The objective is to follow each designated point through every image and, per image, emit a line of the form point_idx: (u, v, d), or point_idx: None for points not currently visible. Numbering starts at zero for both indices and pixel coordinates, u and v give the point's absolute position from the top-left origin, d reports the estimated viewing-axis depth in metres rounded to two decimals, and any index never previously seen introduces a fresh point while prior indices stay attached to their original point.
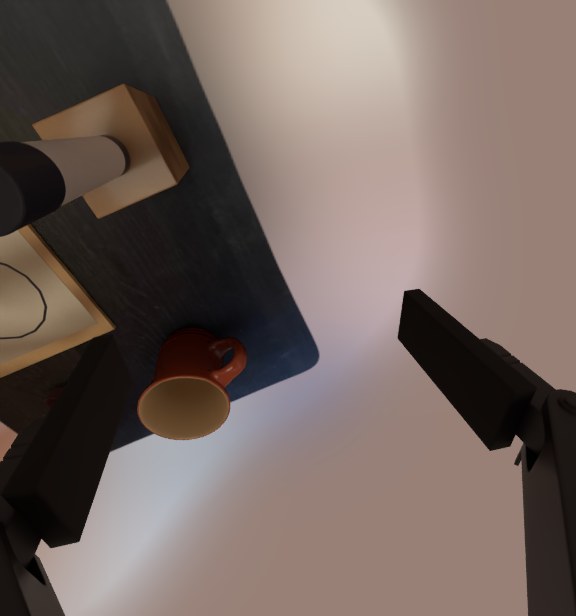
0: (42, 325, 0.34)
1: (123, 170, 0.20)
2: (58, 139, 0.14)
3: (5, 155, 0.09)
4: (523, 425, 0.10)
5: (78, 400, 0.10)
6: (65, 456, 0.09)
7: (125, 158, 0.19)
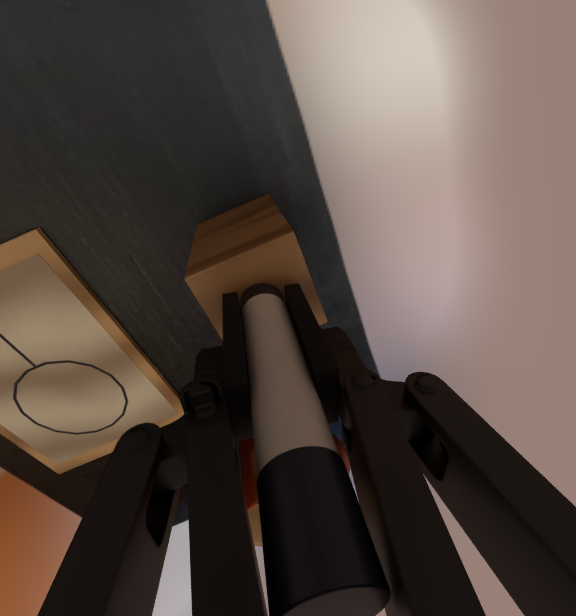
0: (121, 418, 0.32)
1: None
2: (285, 365, 0.11)
3: (360, 537, 0.07)
4: (338, 401, 0.11)
5: (241, 333, 0.13)
6: (246, 370, 0.12)
7: None
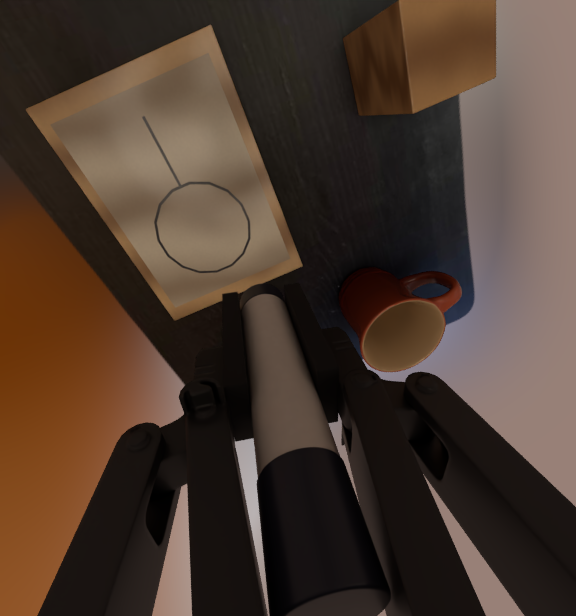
0: (240, 258, 0.34)
1: None
2: (285, 366, 0.11)
3: (360, 539, 0.07)
4: (338, 401, 0.11)
5: (241, 333, 0.13)
6: (246, 370, 0.12)
7: None
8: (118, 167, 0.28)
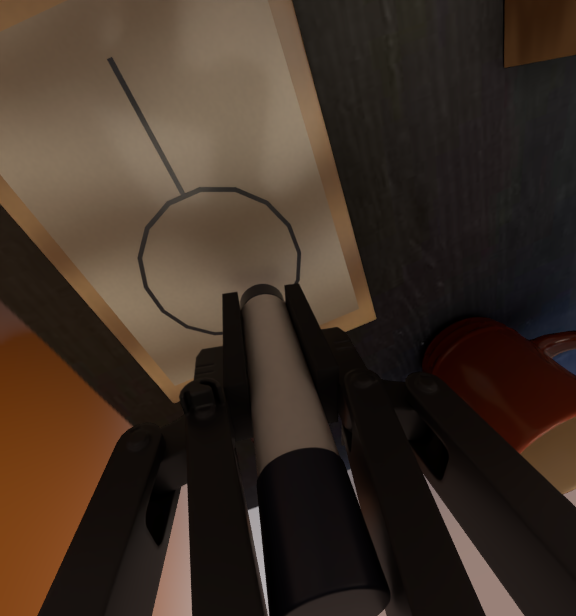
0: None
1: None
2: (285, 366, 0.11)
3: (360, 539, 0.07)
4: (338, 401, 0.11)
5: (241, 333, 0.13)
6: (246, 371, 0.12)
7: None
8: (66, 161, 0.15)
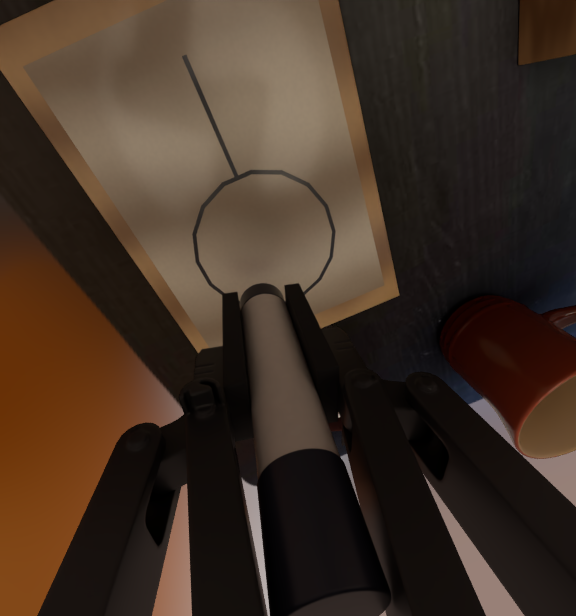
0: (315, 286, 0.23)
1: None
2: (285, 366, 0.11)
3: (361, 540, 0.07)
4: (338, 401, 0.11)
5: (241, 333, 0.13)
6: (246, 370, 0.12)
7: None
8: (139, 145, 0.17)
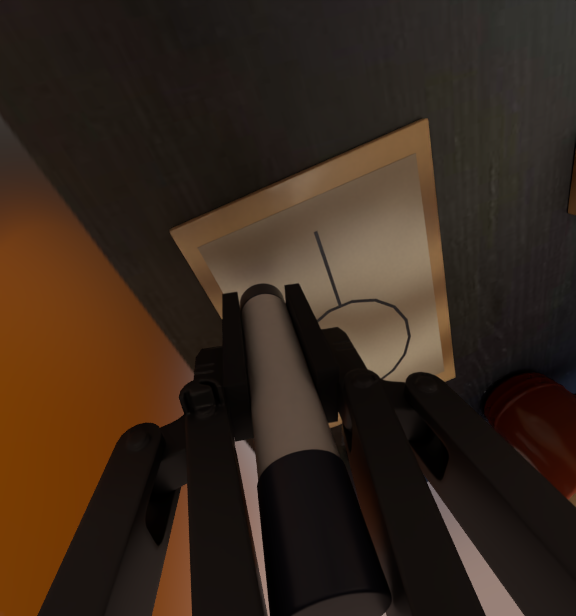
0: (388, 375, 0.28)
1: None
2: (285, 367, 0.11)
3: (361, 541, 0.07)
4: (338, 401, 0.11)
5: (241, 333, 0.13)
6: (246, 370, 0.12)
7: None
8: None
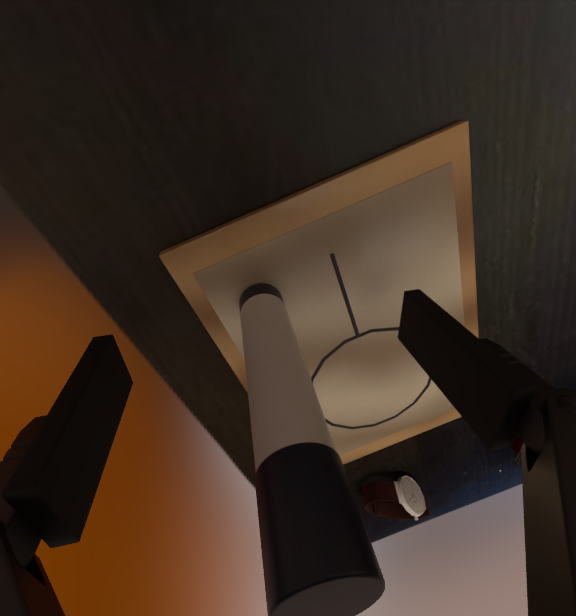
0: (408, 408, 0.25)
1: None
2: (283, 364, 0.11)
3: (355, 530, 0.07)
4: (523, 426, 0.10)
5: (79, 400, 0.10)
6: (65, 456, 0.09)
7: None
8: None
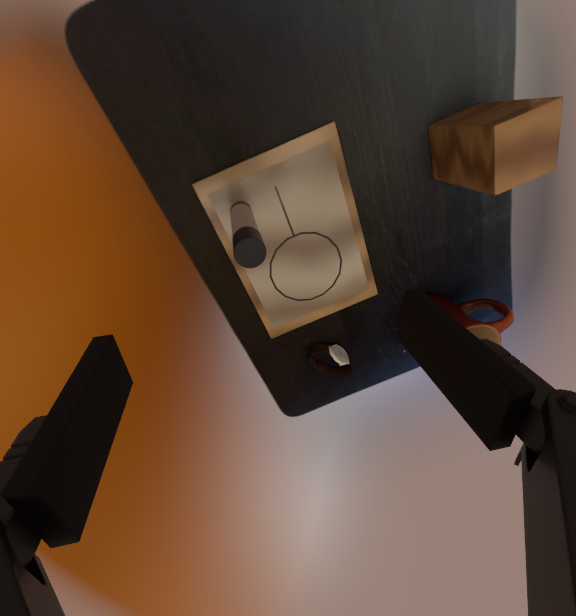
0: (330, 289, 0.42)
1: None
2: (245, 216, 0.29)
3: (258, 237, 0.24)
4: (523, 425, 0.10)
5: (78, 400, 0.10)
6: (66, 456, 0.09)
7: None
8: None
